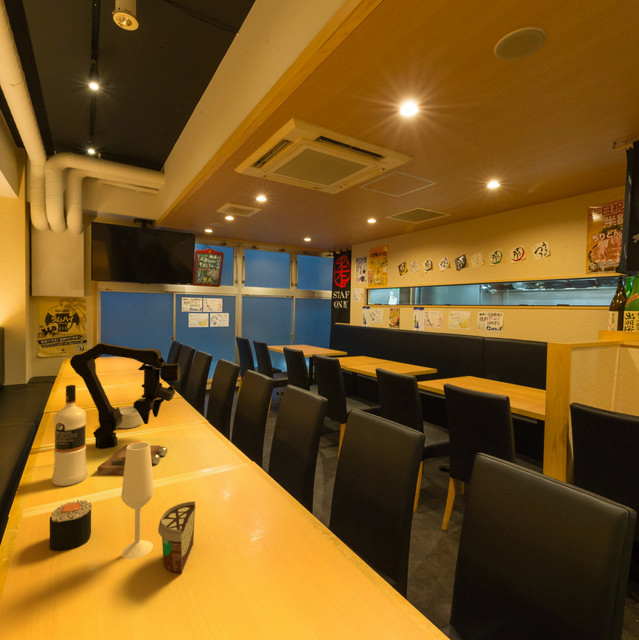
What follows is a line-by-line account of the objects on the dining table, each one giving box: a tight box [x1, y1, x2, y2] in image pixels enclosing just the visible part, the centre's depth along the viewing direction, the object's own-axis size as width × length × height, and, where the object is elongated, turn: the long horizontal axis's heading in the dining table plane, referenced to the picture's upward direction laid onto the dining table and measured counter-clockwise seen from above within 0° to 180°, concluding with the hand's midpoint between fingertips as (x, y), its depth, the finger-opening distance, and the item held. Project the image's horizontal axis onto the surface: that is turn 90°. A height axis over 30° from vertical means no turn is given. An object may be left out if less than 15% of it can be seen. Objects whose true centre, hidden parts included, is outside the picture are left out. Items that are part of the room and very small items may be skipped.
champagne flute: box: [120, 441, 155, 560], centre depth 84 cm, size 7×7×24 cm
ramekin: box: [117, 405, 144, 429], centre depth 170 cm, size 13×13×7 cm
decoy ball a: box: [158, 446, 169, 457], centre depth 136 cm, size 3×3×3 cm
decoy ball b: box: [151, 454, 161, 465], centre depth 129 cm, size 3×3×3 cm
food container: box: [157, 501, 196, 575], centre depth 81 cm, size 12×6×10 cm, turn 5°
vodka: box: [51, 384, 89, 487], centre depth 115 cm, size 9×9×30 cm
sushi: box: [49, 499, 93, 552], centre depth 87 cm, size 8×8×8 cm
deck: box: [97, 444, 162, 476], centre depth 130 cm, size 13×19×4 cm
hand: (151, 420), depth 146 cm, fingers open, 9 cm apart
